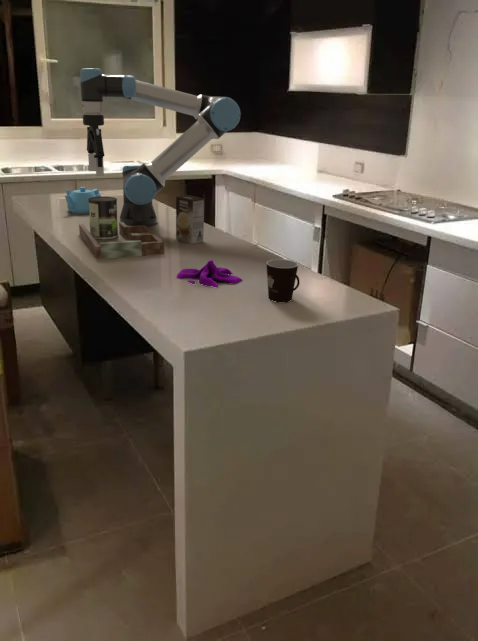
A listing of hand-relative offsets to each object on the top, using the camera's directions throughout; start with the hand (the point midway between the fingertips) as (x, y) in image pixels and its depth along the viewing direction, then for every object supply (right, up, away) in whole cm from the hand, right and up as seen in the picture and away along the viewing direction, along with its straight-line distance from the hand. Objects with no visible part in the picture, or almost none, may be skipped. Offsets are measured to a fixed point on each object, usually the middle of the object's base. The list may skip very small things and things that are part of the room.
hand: (96, 173), depth 233 cm
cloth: (+45, -44, -47) cm, 79 cm away
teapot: (-15, -7, +41) cm, 44 cm away
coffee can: (+3, -24, -1) cm, 24 cm away
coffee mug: (+65, -50, -64) cm, 104 cm away
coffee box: (+35, -26, -3) cm, 44 cm away
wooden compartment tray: (+11, -28, -12) cm, 32 cm away
